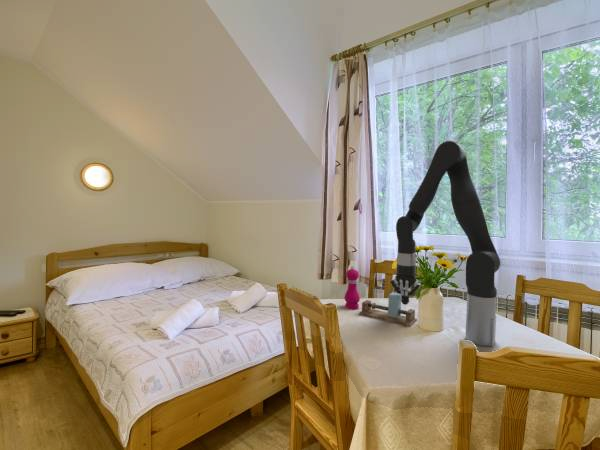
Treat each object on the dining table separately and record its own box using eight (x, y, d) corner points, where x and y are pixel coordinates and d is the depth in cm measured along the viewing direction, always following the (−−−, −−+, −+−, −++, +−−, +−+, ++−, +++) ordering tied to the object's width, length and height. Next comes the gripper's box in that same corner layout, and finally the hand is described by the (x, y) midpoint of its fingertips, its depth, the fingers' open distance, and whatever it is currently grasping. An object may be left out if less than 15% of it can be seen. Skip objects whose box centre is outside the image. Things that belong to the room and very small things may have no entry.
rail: (416, 321, 138) (417, 308, 137) (410, 326, 131) (410, 313, 131) (367, 310, 152) (367, 298, 151) (359, 314, 145) (359, 302, 145)
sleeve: (400, 315, 140) (401, 294, 139) (397, 318, 137) (397, 296, 136) (391, 313, 142) (392, 292, 142) (388, 316, 139) (388, 294, 139)
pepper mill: (360, 309, 152) (361, 267, 150) (345, 309, 152) (345, 267, 151) (358, 305, 159) (359, 264, 158) (343, 304, 159) (344, 264, 158)
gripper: (425, 264, 134) (423, 305, 135) (394, 260, 142) (393, 299, 143) (419, 266, 128) (418, 309, 129) (387, 262, 136) (386, 303, 138)
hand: (404, 304), depth 136 cm, fingers closed
